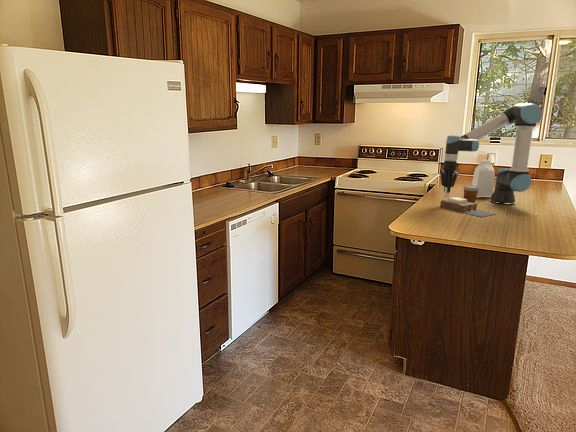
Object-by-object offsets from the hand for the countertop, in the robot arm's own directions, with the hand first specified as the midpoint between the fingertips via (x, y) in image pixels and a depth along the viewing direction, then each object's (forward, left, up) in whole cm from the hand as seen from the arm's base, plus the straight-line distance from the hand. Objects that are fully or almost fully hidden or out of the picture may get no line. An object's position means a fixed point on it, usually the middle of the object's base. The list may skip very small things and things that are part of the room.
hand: (446, 197), depth 274 cm
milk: (-51, -8, -6) cm, 52 cm away
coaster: (0, +9, -1) cm, 9 cm away
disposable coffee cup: (-17, +6, -6) cm, 19 cm away
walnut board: (0, +10, -5) cm, 11 cm away
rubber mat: (0, +25, -5) cm, 25 cm away
